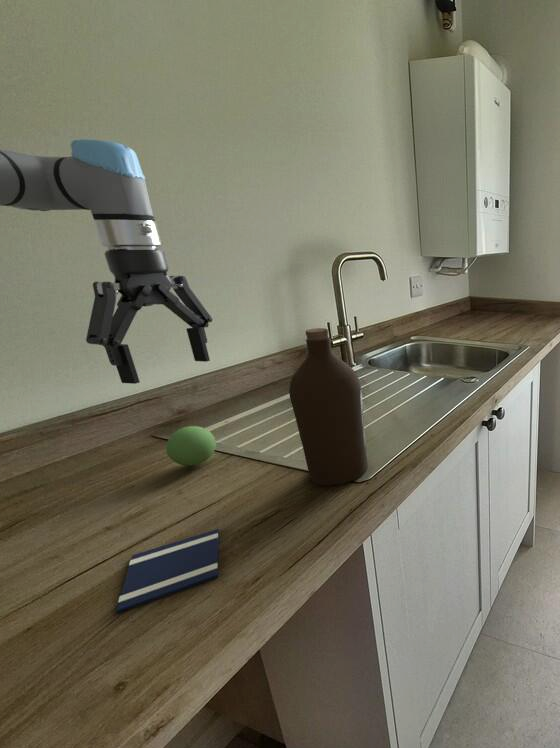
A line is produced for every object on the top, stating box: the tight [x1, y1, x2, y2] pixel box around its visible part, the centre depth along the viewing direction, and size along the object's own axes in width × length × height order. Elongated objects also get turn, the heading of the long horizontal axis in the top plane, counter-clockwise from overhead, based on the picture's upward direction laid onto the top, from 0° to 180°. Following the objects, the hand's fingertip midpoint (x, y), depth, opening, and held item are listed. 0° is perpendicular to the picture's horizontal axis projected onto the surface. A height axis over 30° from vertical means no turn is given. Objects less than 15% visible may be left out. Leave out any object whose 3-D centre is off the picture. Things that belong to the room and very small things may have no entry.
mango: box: [165, 425, 217, 467], centre depth 73 cm, size 7×7×7 cm
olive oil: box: [288, 327, 369, 487], centre depth 67 cm, size 11×11×25 cm
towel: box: [115, 528, 220, 614], centre depth 50 cm, size 10×9×1 cm
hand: (169, 371), depth 75 cm, fingers open, 13 cm apart
